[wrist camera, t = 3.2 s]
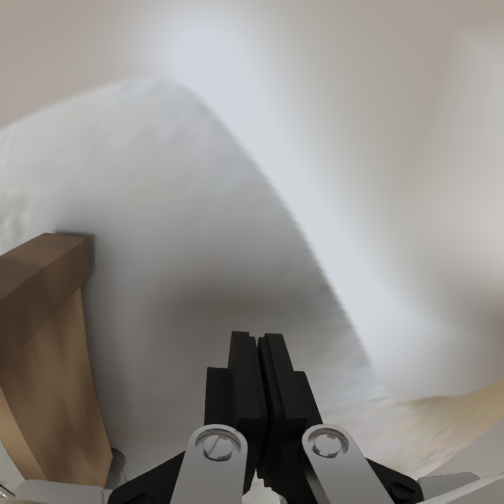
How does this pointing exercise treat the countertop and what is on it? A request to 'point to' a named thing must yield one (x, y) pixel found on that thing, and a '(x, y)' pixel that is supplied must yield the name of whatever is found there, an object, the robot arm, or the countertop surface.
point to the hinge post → (115, 470)
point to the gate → (49, 364)
